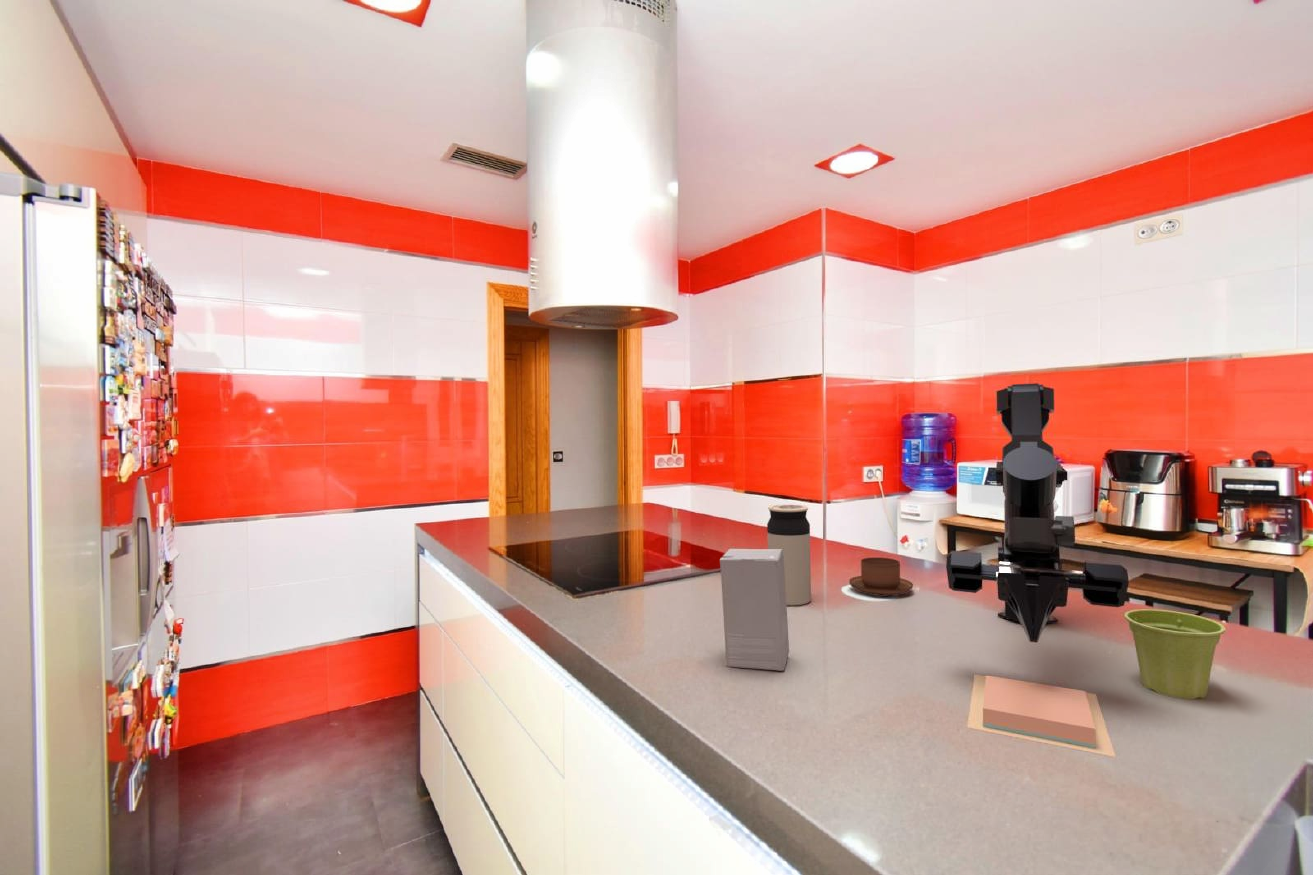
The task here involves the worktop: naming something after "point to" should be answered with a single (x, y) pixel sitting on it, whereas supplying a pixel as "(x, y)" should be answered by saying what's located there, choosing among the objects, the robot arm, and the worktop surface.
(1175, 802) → the worktop surface
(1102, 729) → the cork mat
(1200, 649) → the plant pot
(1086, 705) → the tile
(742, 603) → the skincare box
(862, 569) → the cup and saucer
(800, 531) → the travel mug
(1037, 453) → the robot arm
